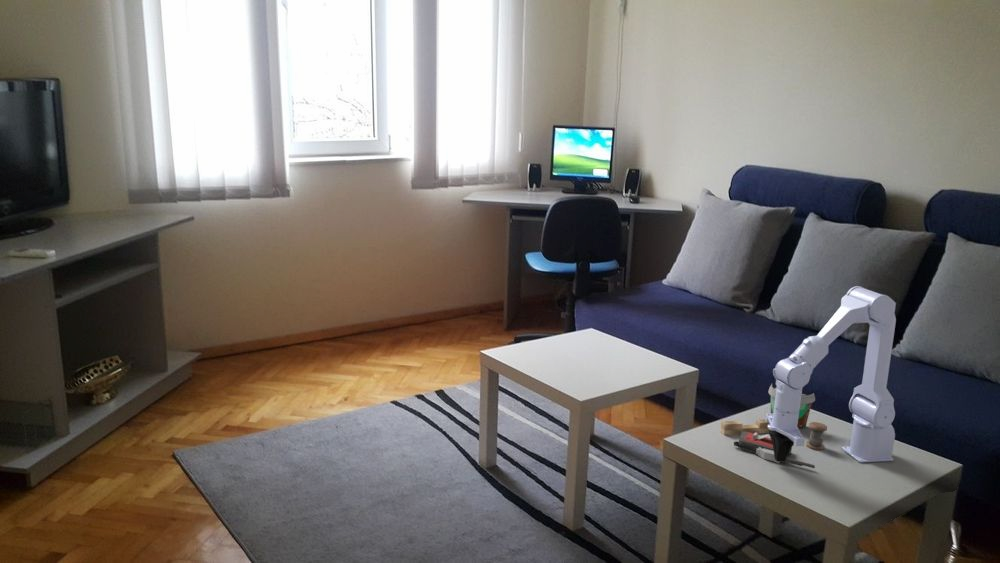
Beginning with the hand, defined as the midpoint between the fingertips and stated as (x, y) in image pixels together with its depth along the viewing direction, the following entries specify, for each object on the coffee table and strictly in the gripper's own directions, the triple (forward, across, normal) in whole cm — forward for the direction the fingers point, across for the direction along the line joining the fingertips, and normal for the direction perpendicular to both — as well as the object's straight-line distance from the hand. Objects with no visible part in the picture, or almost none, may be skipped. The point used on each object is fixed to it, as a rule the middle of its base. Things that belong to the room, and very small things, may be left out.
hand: (779, 460), depth 188 cm
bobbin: (+1, -9, +15) cm, 17 cm away
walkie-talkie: (+2, -6, +2) cm, 6 cm away
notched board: (+1, -19, +2) cm, 19 cm away
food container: (+2, -22, +14) cm, 26 cm away
